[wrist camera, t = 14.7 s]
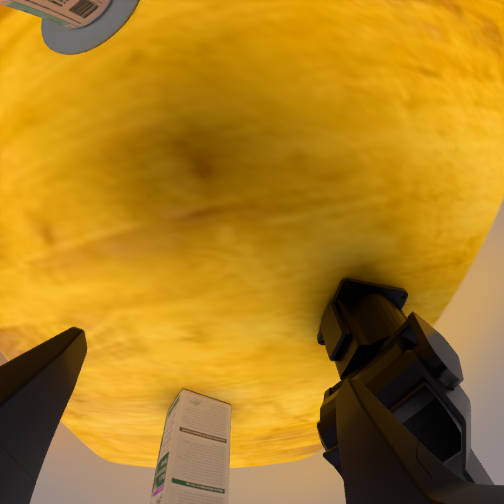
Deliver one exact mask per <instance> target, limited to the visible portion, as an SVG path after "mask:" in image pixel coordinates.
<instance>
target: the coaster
mask: <svg viewBox="0 0 504 504" xmlns="http://www.w3.org/2000/svg"><path fill="white" fill-rule="evenodd" d="M138 2H139V0H111V1H110V3H109V5H108V6H107V8H106V9H105V10H104V12H103V13H102V14H101V15H100V16H99V17H98V18H96V19H95V20H94V21H92V22H91V23H89V24H87V25H85V26H83V27H80V28H76V29H69V28H66V27H64V26H62V25H59V24H57V23H54V22H51V21H49V20H46V19H44V18H42V25H41V30H42V36H43V39H44V42H45V43H46V45H47V46H48V47H49V48H50V49H51V50H53V51H55V52H58V53H61V54H67V55H72V54H79V53H83V52H86V51H88V50H91V49H93V48H95V47H97V46H99V45H100V44H102V43H103V42H105V41H106V40H108V39H109V38H110V37H112V36H113V35H114V34H115V33H116V32H117V31H118V30H119V29H120V28H121V27H122V26H123V25H124V24H125V23H126V22H127V20H128V19H129V18H130V16H131V15H132V13H133V12H134V10H135V8H136V7H137V5H138Z"/></svg>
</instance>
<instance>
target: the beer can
mask: <svg viewBox="0 0 504 504" xmlns="http://www.w3.org/2000/svg"><path fill="white" fill-rule="evenodd" d="M110 1H111V0H0V4H1V5H4V6H8V7H11V8H14V9H17V10H21V11H24V12H27V13H30V14H32V15H35V16H38V17H41V18H44V19H46V20H49V21H51V22H54V23H57V24H59V25H62V26H64V27H66V28H69V29H76V28H80V27H83V26H85V25H87V24H89V23H91V22H92V21H94V20H95V19H96V18H98V17H99V16H100V15H101V14H102V13H103V12H104V10H105V9H106V8H107V6H108V5H109V3H110Z"/></svg>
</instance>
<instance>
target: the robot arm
mask: <svg viewBox="0 0 504 504" xmlns="http://www.w3.org/2000/svg"><path fill="white" fill-rule="evenodd" d="M345 284H349V285H348V286H347V287H344V286H345ZM402 294H404V295H403V296H401V295H402ZM407 297H408V293H407V291H406V290H405V289H401V288H396V287H390V286H385V285H380V284H375V283H370V282H364V281H359V280H354V279H349V278H345V279H343V280H342V281H341V282H340V285H339V287H338V290H337V292H336V295H335V297H334V300H333V301H332V302H331V303H330V304H329V306H328V308H327V311H326V313H325V316H324V318H323V320H322V323H321V325H320V329H321V330H320V332H319V335H318V337H317V340H318V343H319V344H320V345H325V346H326V349H327V353H328V356H329V359H330V360H331V361H335V363H336V367H337V370H338V373H339V377H340V379H341V381H340V382H338V383H337V384H336V385H335V386H333V387H332V388H331V387H330V388H329V389H328V390H326V391H325V394H324V401H323V403H322V406H321V408H320V421H319V422H318V423H317V430H318V433H319V437H320V440H321V443H322V445H323V447H324V448H325V450H326V452H324V453H323V457H324V458H325V459H326V460H327V461H328V462H330V463H331V464H332V465H333V466H334V467H335V469H336V470H337V471H338V473H339V474H340V475H341V477H342V478H343V481H344V489H345V497H346V504H504V485H494V483H493V482H492V480H491V479H490V477H489V476H488V474H487V472H486V471H485V469H484V468H483V466H482V465H481V463H480V462H479V460H478V459H477V457H476V456H475V454H474V453H473V451H472V449H471V406H470V400H469V398H468V397H467V395H466V394H465V392H464V391H463V390H462V388H461V387H460V385H459V384H460V383H461V382H462V381H463V374H462V369H461V366H460V361H459V357H458V355H457V354H456V352H455V351H454V350H453V349H452V347H451V346H450V345H449V343H448V342H447V341H446V340H445V338H444V337H443V336H442V335H441V334H440V333H438V332H437V331H436V330H435V329H434V328H432V327H431V326H430V325H429V324H428V323H427V322H425V321H424V320H423V319H422V318H421V317H419V316H418V315H417V314H416V313H414V312H412V313H411V314H410V315H409V316H408V317H406V316H405V314H404V313H403V311H402V310H401V309H402V307H403V305H404V304H405V301H406V299H407ZM407 318H408V319H407ZM322 339H324V340H322ZM86 353H87V343H86V337H85V332H84V330H82V329H79V328H76V327H71V328H69V329H68V330H66V331H64V332H62V333H60V334H58V335H56V336H55V337H53V338H51V339H49V340H47V341H45V342H43V343H42V344H40V345H38V346H36V347H34V348H32V349H31V350H29V351H27V352H25V353H23V354H21V355H20V356H18V357H16V358H14V359H12V360H11V361H9V362H7V363H5V364H3V365H1V366H0V504H30V500H31V497H32V494H33V491H34V488H35V485H36V481H37V478H38V475H39V473H40V470H41V467H42V464H43V461H44V459H45V456H46V454H47V451H48V448H49V446H50V443H51V441H52V438H53V436H54V433H55V431H56V429H57V426H58V424H59V422H60V419H61V417H62V415H63V412H64V410H65V408H66V406H67V403H68V401H69V399H70V397H71V395H72V392H73V390H74V388H75V385H76V382H77V379H78V376H79V373H80V370H81V367H82V364H83V362H84V359H85V356H86Z"/></svg>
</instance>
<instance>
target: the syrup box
mask: <svg viewBox="0 0 504 504" xmlns="http://www.w3.org/2000/svg"><path fill="white" fill-rule="evenodd" d="M230 429H231V406H230V405H229V404H226V403H223V402H221V401H218V400H215V399H212V398H209V397H206V396H203V395H200V394H197V393H194V392H191V391H188V390H185V389H182V391H181V392H180V394H179V395H178V397H177V398H176V399H175V401H174V403H173V404H172V406H171V408H170V409H169V411H168V413H167V417H166V421H165V426H164V431H163V436H162V441H161V446H160V451H159V456H158V461H157V467H156V472H155V478H154V483H153V489H152V495H151V502H150V504H228V496H229V495H228V494H229V492H228V491H229V463H230Z"/></svg>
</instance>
